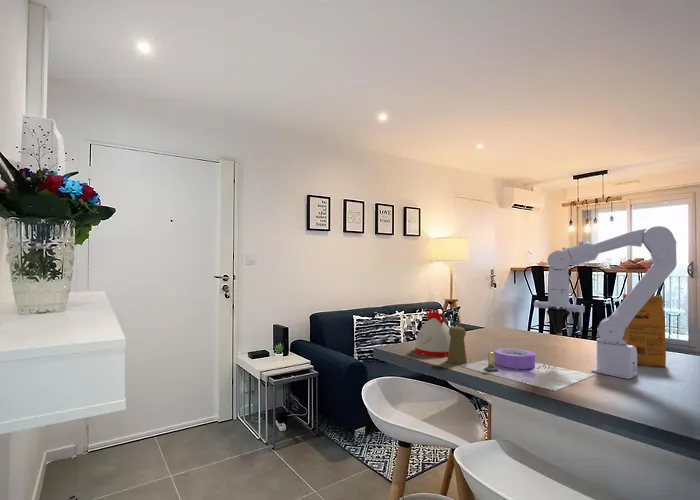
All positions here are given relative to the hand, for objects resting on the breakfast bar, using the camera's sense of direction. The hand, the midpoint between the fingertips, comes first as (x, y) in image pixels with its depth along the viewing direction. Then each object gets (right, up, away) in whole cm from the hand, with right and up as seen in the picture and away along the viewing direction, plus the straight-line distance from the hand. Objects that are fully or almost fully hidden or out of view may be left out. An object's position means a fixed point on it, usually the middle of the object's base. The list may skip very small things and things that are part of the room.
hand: (558, 333), depth 122 cm
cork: (-31, -10, +2) cm, 33 cm away
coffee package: (+29, -11, +4) cm, 31 cm away
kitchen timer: (-35, -10, +15) cm, 40 cm away
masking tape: (-14, -10, -1) cm, 17 cm away
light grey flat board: (-14, -10, -7) cm, 18 cm away
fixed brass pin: (-24, -9, -7) cm, 26 cm away
